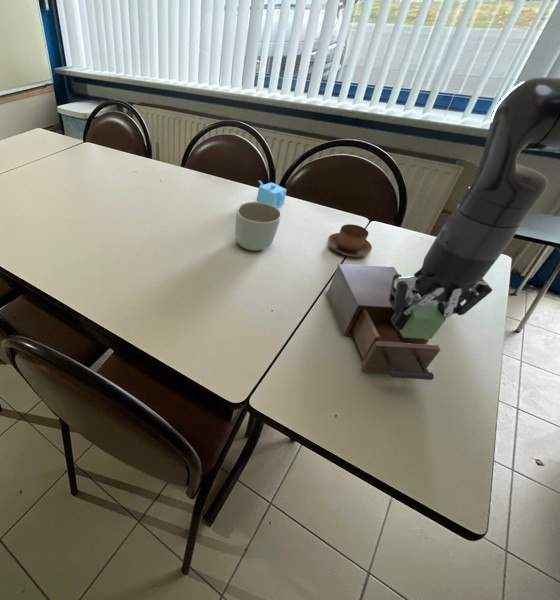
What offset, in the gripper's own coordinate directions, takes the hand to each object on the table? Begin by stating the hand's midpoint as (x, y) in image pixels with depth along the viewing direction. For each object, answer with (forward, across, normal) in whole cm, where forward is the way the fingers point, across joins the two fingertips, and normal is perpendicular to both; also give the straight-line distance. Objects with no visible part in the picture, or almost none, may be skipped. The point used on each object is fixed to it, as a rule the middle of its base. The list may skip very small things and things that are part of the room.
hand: (412, 326), depth 62 cm
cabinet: (+16, +4, +20) cm, 26 cm away
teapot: (+17, -11, +76) cm, 78 cm away
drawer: (+15, +4, +6) cm, 17 cm away
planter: (+17, -19, +49) cm, 55 cm away
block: (0, 0, 0) cm, 0 cm away
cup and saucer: (+17, +9, +49) cm, 52 cm away
